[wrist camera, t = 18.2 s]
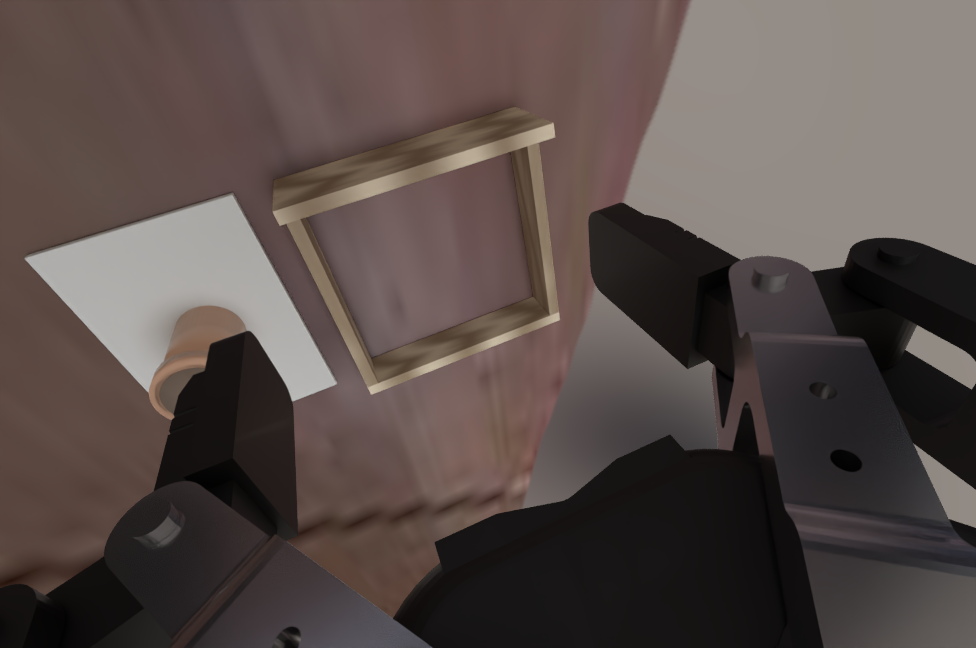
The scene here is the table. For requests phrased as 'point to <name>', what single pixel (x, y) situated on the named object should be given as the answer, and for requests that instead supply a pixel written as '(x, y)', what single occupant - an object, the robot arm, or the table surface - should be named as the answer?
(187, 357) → the terracotta pot
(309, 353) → the grey mat
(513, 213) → the table surface
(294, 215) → the frame
